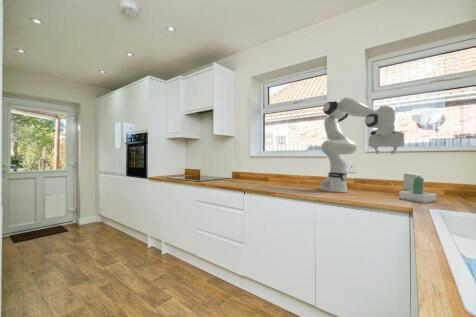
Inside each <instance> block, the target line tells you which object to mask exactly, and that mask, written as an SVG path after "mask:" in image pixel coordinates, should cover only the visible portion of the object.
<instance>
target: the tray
mask: <svg viewBox="0 0 476 317" xmlns="http://www.w3.org/2000/svg"><path fill="white" fill-rule="evenodd" d="M398 193H399V196H398V199H400V198H401V199H400V200H405V199H406V201H412V202H417V203H422V204H426V203H427V204H428V203H431V202H432V203H433V202H437V195H438V194H437V193H432V192H424V191H423V195H419V194H413V190H410V191H403V190H402V191H399V192H398Z"/></svg>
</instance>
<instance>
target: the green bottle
mask: <svg viewBox="0 0 476 317" xmlns="http://www.w3.org/2000/svg"><path fill="white" fill-rule="evenodd" d="M423 192H424V177H422V174H420V175H416V177H414V180H413V194H419V195H423Z"/></svg>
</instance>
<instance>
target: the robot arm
mask: <svg viewBox="0 0 476 317" xmlns="http://www.w3.org/2000/svg"><path fill="white" fill-rule="evenodd" d="M395 111H396V110H395V107H394V106H391V105H390V106H389V105H380V106H379V107H378V108H377V110H376V109H374V108H372V107H369V106H367V105H366V104H363V103H361V102H360V101H358V100H357V99H353V98H351V97H343V98H342V99H341V100H340V101H339V102H337V101H336V100H335V101H328V102H326V103H324V106H323V108H322V112H323V113H324V114H325V115H326V116H327V117H326V118H325V119H324V122H323V124H324V130H325V133H326V137H327V138H328V140H325V141H323V143H322V145H321V151H322V152H323V153H324V154H325V155H326V156H327V158H328V161H329V166H330V170H329V172H328V176H327V177H326V178H325V179H323V180H322V181H321V184H320V186H318V187H317V189H319V190H322V191H326V192H330V193H331V192H332V193H334V192H335V193H347V192H348V191H349V190H348V187H347V162H346V161H345V160H344V159H342V158H341V157H340V155H344V156H345V155H347V156H348V155H351V154H354V153H355V152H356V150H357V145H356V142H355V141H353V140H351V139H349V138H348V137H347V136H346V135H345V134H344V133H343V131H342V129H341V126H340V124H339V122H343V121H344V120H345V119H347V118H348V116H352V117H361V118H365V120H364V122H365V125H366V127H368V128H371V129H374V130H372V131H370V132H369V135H370V136H369V138H368V146H369V147H371V148H372V147H373V149H374V150H375V154H376V155H379V154H380V152H381V151H380V150H379V148H381V147H382V148H383V147H387V148H388V147H389V148H390V147H391V148H392V149H393V150H391V151H390V154H391V155H396V151H397V150H398V147H404V146H405V132H404V131H401V130H395V129H396V126H395V121H396V112H395Z"/></svg>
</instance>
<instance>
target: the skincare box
mask: <svg viewBox="0 0 476 317" xmlns="http://www.w3.org/2000/svg"><path fill="white" fill-rule="evenodd" d="M416 175H421V174H420V173H412V172H403V180H402V181H403V183H402V191H410V190H413V180H414V177H416Z"/></svg>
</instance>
